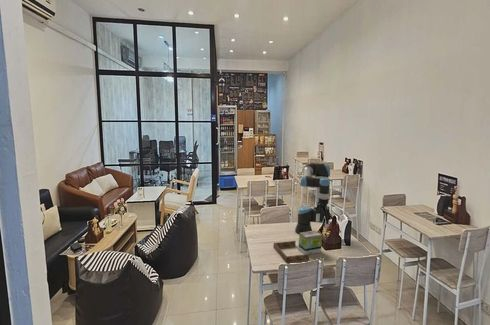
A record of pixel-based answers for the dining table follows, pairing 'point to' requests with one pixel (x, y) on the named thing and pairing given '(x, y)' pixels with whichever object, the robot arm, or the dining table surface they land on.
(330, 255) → the dining table surface
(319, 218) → the robot arm
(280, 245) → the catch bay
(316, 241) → the tea box
